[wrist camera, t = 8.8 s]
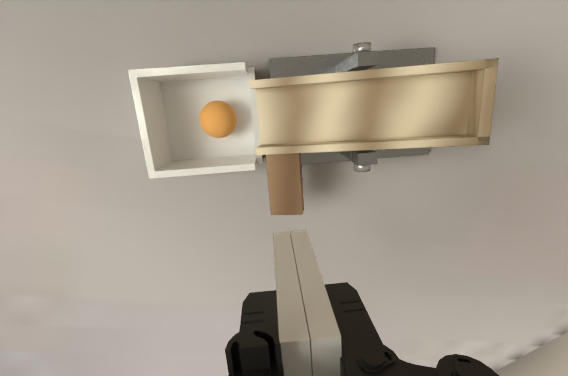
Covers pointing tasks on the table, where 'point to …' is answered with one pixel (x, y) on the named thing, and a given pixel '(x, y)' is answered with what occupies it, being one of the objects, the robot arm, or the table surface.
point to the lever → (368, 116)
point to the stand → (347, 63)
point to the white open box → (195, 118)
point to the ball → (218, 119)
